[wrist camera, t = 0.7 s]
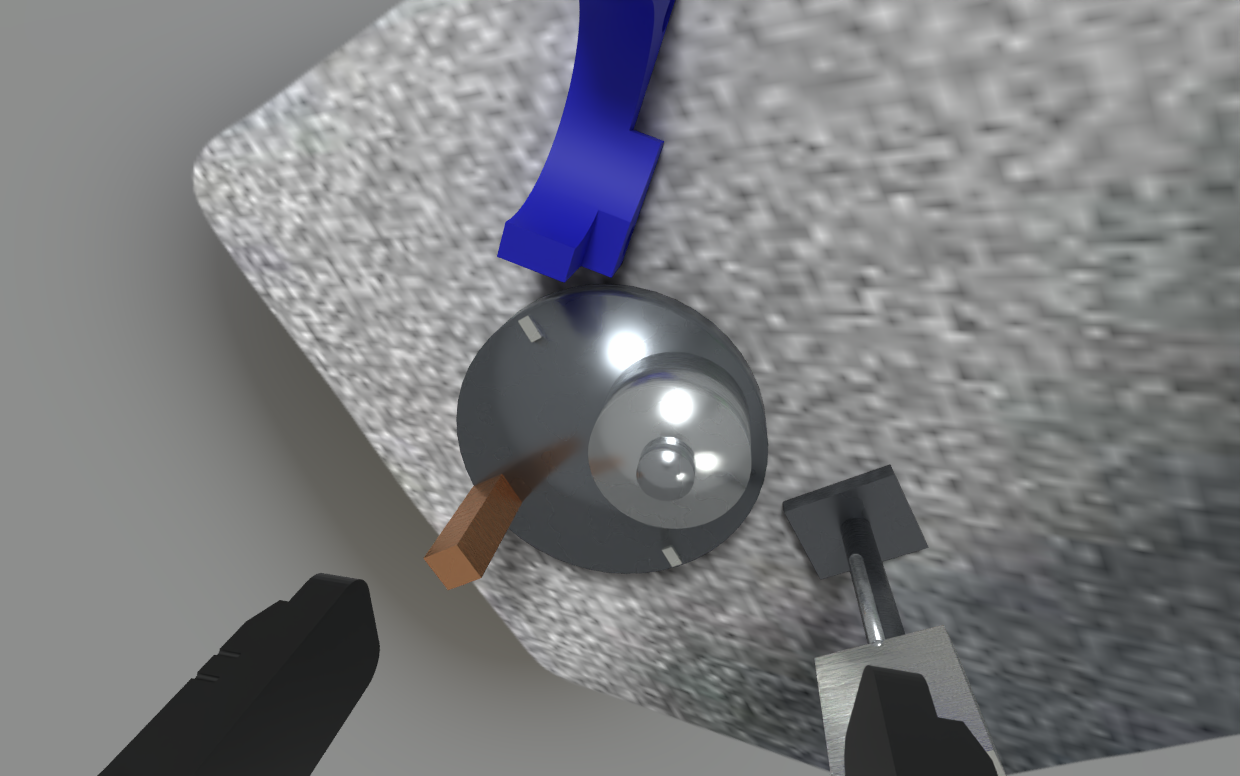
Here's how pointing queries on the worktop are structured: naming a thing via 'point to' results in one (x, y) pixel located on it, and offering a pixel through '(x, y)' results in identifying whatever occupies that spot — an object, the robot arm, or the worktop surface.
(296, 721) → the robot arm
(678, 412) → the cover
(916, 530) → the grey stand with block
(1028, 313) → the worktop surface
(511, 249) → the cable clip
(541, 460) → the grey pot lid
